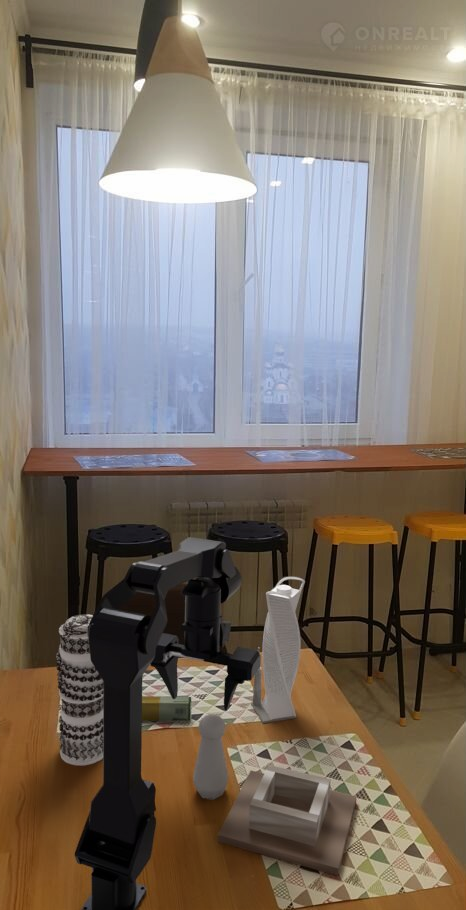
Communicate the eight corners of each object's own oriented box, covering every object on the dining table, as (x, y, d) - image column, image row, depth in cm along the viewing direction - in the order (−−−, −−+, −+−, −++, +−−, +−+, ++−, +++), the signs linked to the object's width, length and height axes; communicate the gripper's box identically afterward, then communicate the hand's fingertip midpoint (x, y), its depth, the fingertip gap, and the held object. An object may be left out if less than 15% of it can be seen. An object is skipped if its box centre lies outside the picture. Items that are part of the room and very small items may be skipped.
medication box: (191, 714, 134) (192, 695, 134) (191, 722, 131) (191, 703, 131) (131, 713, 134) (131, 694, 133) (129, 721, 131) (129, 701, 131)
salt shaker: (223, 806, 108) (225, 732, 106) (189, 800, 109) (190, 727, 107) (231, 782, 114) (233, 712, 112) (198, 777, 115) (199, 707, 113)
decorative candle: (85, 729, 128) (83, 604, 123) (121, 747, 123) (120, 618, 118) (46, 753, 120) (43, 621, 116) (83, 773, 115) (81, 636, 111)
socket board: (337, 875, 95) (340, 843, 94) (217, 841, 101) (218, 810, 100) (356, 802, 110) (358, 774, 109) (250, 776, 116) (251, 749, 115)
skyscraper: (289, 698, 141) (295, 570, 135) (305, 719, 133) (312, 584, 128) (251, 704, 138) (255, 573, 133) (264, 726, 130) (270, 588, 125)
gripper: (271, 605, 114) (267, 690, 117) (169, 589, 120) (168, 671, 123) (252, 631, 104) (248, 725, 106) (141, 612, 109) (141, 701, 112)
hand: (200, 703), depth 112 cm, fingers open, 9 cm apart
